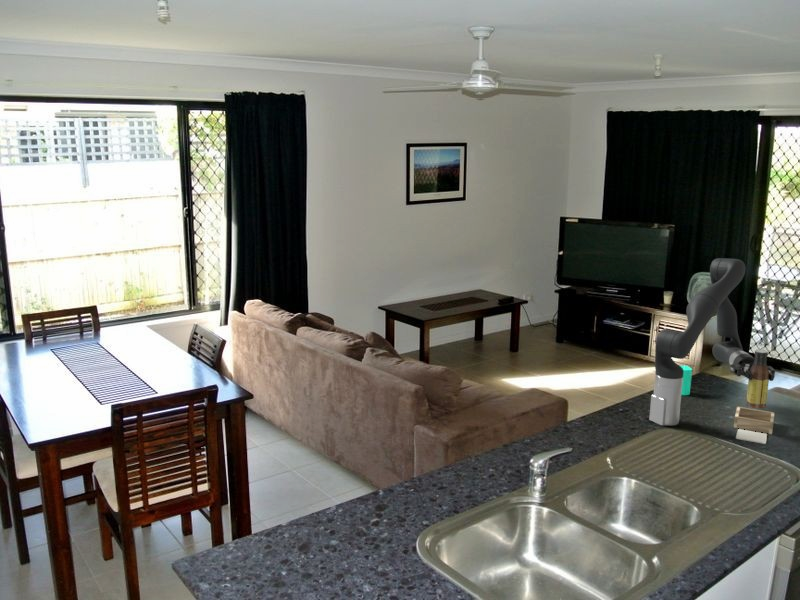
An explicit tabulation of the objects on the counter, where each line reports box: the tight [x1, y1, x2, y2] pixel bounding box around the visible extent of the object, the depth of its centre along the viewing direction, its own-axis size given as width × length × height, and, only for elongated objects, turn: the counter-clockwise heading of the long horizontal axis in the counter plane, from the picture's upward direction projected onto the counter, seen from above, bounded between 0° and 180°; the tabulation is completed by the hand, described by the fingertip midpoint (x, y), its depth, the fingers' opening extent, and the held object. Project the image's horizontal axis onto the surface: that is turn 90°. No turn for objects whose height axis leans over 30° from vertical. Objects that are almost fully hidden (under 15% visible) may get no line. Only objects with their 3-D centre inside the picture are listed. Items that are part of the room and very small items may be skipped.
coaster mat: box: [735, 428, 768, 445], centre depth 241 cm, size 9×9×1 cm
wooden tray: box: [733, 406, 775, 435], centre depth 251 cm, size 12×12×4 cm
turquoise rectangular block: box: [680, 363, 693, 396], centre depth 284 cm, size 6×6×12 cm
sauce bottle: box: [746, 348, 770, 409], centre depth 243 cm, size 6×6×20 cm
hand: (761, 377), depth 241 cm, fingers closed on sauce bottle, 6 cm apart
